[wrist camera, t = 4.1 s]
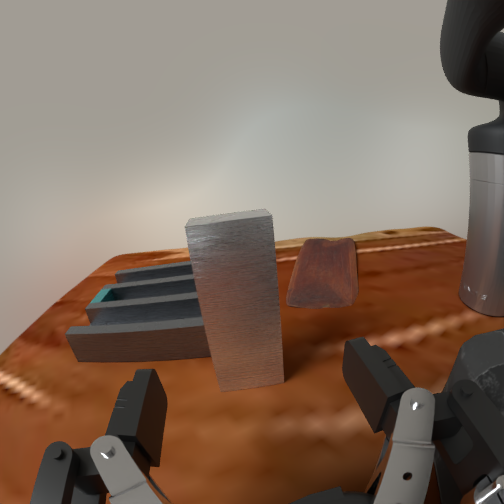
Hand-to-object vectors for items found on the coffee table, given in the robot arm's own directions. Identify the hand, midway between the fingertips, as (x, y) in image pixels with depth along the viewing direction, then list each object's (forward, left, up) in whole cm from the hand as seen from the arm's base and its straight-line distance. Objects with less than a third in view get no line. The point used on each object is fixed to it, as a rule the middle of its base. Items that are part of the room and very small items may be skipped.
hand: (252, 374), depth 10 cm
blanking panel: (0, -8, -8) cm, 11 cm away
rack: (+10, -21, -8) cm, 24 cm away
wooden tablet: (-14, -29, -9) cm, 34 cm away
